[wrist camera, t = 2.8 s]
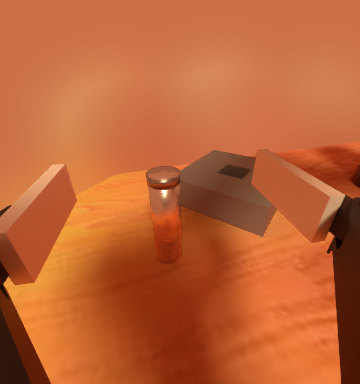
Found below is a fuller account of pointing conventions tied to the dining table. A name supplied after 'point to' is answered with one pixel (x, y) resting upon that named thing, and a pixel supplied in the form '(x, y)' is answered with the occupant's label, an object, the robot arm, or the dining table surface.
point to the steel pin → (165, 211)
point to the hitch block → (226, 191)
